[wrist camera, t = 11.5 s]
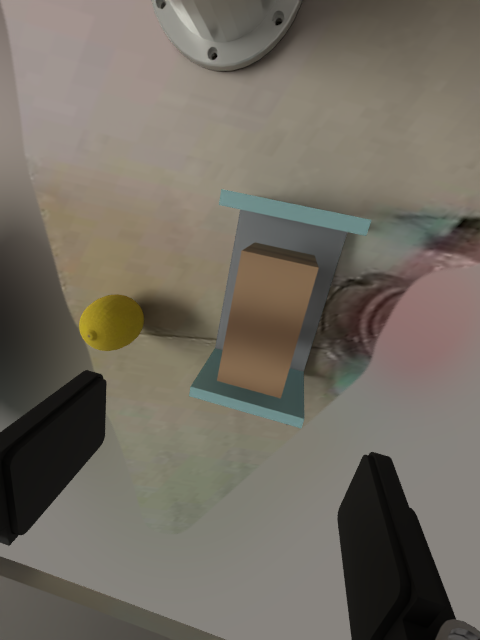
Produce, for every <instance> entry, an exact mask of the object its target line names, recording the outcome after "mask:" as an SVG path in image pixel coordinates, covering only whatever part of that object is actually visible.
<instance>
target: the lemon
mask: <svg viewBox="0 0 480 640" xmlns="http://www.w3.org/2000/svg"><path fill="white" fill-rule="evenodd" d="M143 324H144V315H143V312H142V309H141V308H140V306H139V305H138V304H137V302H135V301H134V300H133V299H131V298H129V297H127V296H123V295H108V296H105V297H102V298H100V299H97V300H96V301H94V302H93V303H92V304H91V305H89V306H88V307H87V308H86V309H85V311H84V312H83V314H82V316H81V318H80V322H79V329H80V333H81V336H82V338H83V339H84V340H85V342H86V343H87V344H88V345H90V346H91V347H93V348H95V349H98V350H102V351H111V350H117V349H120V348H122V347H124V346H126V345H128V344H130V343H131V342H132V341H134V340H135V339H136V338H137V337H138V335H139V334H140V332H141V330H142V328H143Z"/></svg>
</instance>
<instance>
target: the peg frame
mask: <svg viewBox="0 0 480 640" xmlns="http://www.w3.org/2000/svg"><path fill="white" fill-rule="evenodd" d="M219 205H222V206H227V207H232V208H236V209H240V214H239V220H238V225H237V231H236V236H235V242H234V247H233V253H232V258H231V264H230V269H229V275H228V280H227V286H226V291H225V297H224V302H223V308H222V313H221V319H220V324H219V330H218V335H217V341H216V346H215V349H214V351H213V352H212V354H211V355H210V357H209V359H208V360H207V362H206V363H205V365H204V366H203V368H202V370H201V371H200V373H199V374H198V376H197V377H196V379H195V381H194V382H193V384H192V385H191V387H190V394H189V396H191V397H194V398H198V399H201V400H205V401H208V402H212V403H215V404H219V405H222V406H226V407H229V408H233V409H236V410H239V411H243V412H246V413H250V414H253V415H257V416H260V417H264V418H267V419H271V420H274V421H278V422H281V423H285V424H288V425H292V426H295V427H298V428H301V427H302V424H303V421H304V369H305V366H306V362H307V359H308V356H309V353H310V350H311V347H312V343H313V340H314V337H315V334H316V331H317V327H318V324H319V321H320V318H321V315H322V312H323V308H324V305H325V302H326V299H327V296H328V292H329V289H330V286H331V283H332V280H333V277H334V273H335V270H336V267H337V264H338V261H339V258H340V254H341V251H342V248H343V245H344V242H345V238H346V235H347V232H350V233H355V234H359V235H364V236H366V235H367V232H368V229H369V226H370V223H371V220H369V219H364V218H359V217H354V216H350V215H345V214H340V213H335V212H330V211H325V210H320V209H315V208H311V207H306V206H301V205H296V204H291V203H286V202H281V201H276V200H271V199H267V198H262V197H257V196H252V195H247V194H242V193H237V192H232V191H228V190H223V189H221V196H220V202H219ZM255 242H256V243H260V244H265V245H269V246H274V247H278V248H283V249H288V250H292V251H297V252H301V253H306V254H310V255H315V258H316V261H317V264H318V267H319V268H318V272H317V275H316V279H315V282H314V286H313V289H312V293H311V296H310V299H309V303H308V306H307V310H306V313H305V317H304V320H303V324H302V327H301V331H300V334H299V337H298V341H297V344H296V348H295V351H294V355H293V358H292V362H291V365H290V369H289V372H288V375H287V379H286V382H285V386H284V389H283V393H282V396H281V398H277V397H274V396H270V395H266V394H263V393H259V392H256V391H252V390H248V389H245V388H241V387H238V386H234V385H230V384H227V383H223V382H219V381H217V377H218V372H219V367H220V362H221V356H222V351H223V346H224V341H225V335H226V330H227V325H228V320H229V314H230V309H231V304H232V298H233V293H234V288H235V283H236V277H237V272H238V267H239V262H240V256H241V251H242V250H243V249H245V248H247V247H248V246H250V245H251V244H253V243H255Z"/></svg>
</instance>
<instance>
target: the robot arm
mask: <svg viewBox="0 0 480 640" xmlns="http://www.w3.org/2000/svg"><path fill="white" fill-rule="evenodd" d="M151 2H152V5H153V9H154V12H155V15H156V17H157V19H158V21H159V23H160V25H161V27H162V29H163V31H164V32H165V34H166V35H167V37H168V38H169V40H170V41H171V42H172V43H173V45H174V46H175V47H176V48H177V49H178V51H179V52H180V53H181V54H183V55H184V56H185V57H186V58H188V59H189V60H190V61H191V62H193V63H195V64H197V65H199V66H201V67H203V68H207V69H211V70H216V71H232V70H236V69H239V68H243V67H246V66H248V65H250V64H252V63H254V62H256V61H258V60H259V59H261V58H262V57H263V56H265V55H266V54H267V53H268V52H270V51H271V50H272V49H273V48H274V47H275V46H276V44H277V43H278V42H279V41H280V40H281V39H282V38H283V37H284V35H285V33H286V32H287V30H288V29H289V27H290V25H291V24H292V22H293V21H294V19H295V16H296V14H297V12H298V10H299V7H300V5H301V3H302V0H151ZM279 21H280V22H282V23H281V24H280V25H276V23H277V22H279ZM216 55H217V58H216V59H215V60H213V57H214V56H216ZM105 414H106V380H104V379H103V376H102V375H101V374H98V373H95V372H91V371H88V370H86V371H83V372H82V373H81V374H79V375H78V376H76V377H75V378H74V379H72V380H71V381H70V382H68V383H67V384H66V385H64V386H63V387H61V388H60V389H59V390H58V391H56V392H55V393H53V394H52V395H51V396H49V397H48V398H46V399H45V400H44V401H43V402H41V403H40V404H38V405H37V406H36V407H34V408H33V409H32V410H30V411H29V412H27V413H26V414H25V415H23V416H22V417H21V418H19V419H18V420H17V421H15V422H14V423H12V424H11V425H10V426H8V427H7V428H6V429H4V430H3V431H2V432H0V543H3V544H6V545H11V543H12V542H13V541H14V540H15V539H16V538H17V537H18V535H23V534H25V533H26V532H27V531H28V530H29V529H30V528H31V527H32V526H33V524H34V523H35V522H36V521H37V520H38V518H39V517H40V516H41V515H42V514H43V513H44V511H45V510H46V509H47V508H48V507H49V506H50V504H51V503H52V502H53V501H54V500H55V499H56V497H57V496H58V495H59V494H60V493H61V492H62V490H63V489H64V488H65V487H66V486H67V485H68V483H69V482H70V481H71V480H72V479H73V478H74V476H75V475H76V474H77V473H78V472H79V470H80V469H81V468H82V467H83V466H84V465H85V463H86V462H87V461H88V460H89V459H90V458H91V457H92V455H93V454H94V453H95V452H96V451H97V450H98V448H99V447H100V446H101V445H102V443H103V441H104V437H105ZM338 528H339V536H340V545H341V553H342V561H343V569H344V578H345V587H346V595H347V604H348V612H349V620H350V629H351V637H352V640H480V631H478V630H477V629H476V628H475V627H473V626H471V625H469V624H467V623H466V622H464V621H460V620H456V618H455V615H454V612H453V610H452V607H451V605H450V602H449V599H448V597H447V594H446V591H445V589H444V586H443V583H442V581H441V578H440V576H439V573H438V570H437V568H436V565H435V562H434V560H433V557H432V555H431V552H430V549H429V547H428V544H427V541H426V539H425V537H424V534H423V531H422V528H421V526H420V523H419V520H418V518H417V516H416V514H415V512H414V511H413V510H412V508H409V505H408V503H407V500H406V497H405V495H404V492H403V489H402V486H401V484H400V481H399V478H398V475H397V473H396V470H395V467H394V465H393V462H392V459H391V458H390V457H388V456H384V455H381V454H378V453H374V452H371V453H370V454H369V455H364V456H363V457H362V459H361V462H360V464H359V466H358V468H357V470H356V472H355V475H354V477H353V479H352V481H351V483H350V486H349V488H348V490H347V492H346V494H345V497H344V499H343V501H342V503H341V505H340V508H339V511H338ZM0 640H225V639H223V638H220V637H217V636H215V635H212V634H209V633H207V632H204V631H202V630H199V629H196V628H194V627H191V626H188V625H185V624H183V623H180V622H177V621H175V620H172V619H169V618H167V617H164V616H161V615H159V614H156V613H153V612H150V611H148V610H145V609H143V608H140V607H137V606H135V605H132V604H129V603H127V602H124V601H121V600H119V599H116V598H113V597H111V596H108V595H105V594H102V593H100V592H97V591H94V590H92V589H89V588H86V587H83V586H80V585H78V584H75V583H72V582H70V581H67V580H64V579H61V578H59V577H56V576H53V575H51V574H48V573H45V572H42V571H40V570H37V569H34V568H32V567H29V566H26V565H23V564H21V563H17V562H15V561H12V560H9V559H6V558H3V557H0Z"/></svg>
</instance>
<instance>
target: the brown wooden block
mask: <svg viewBox="0 0 480 640" xmlns="http://www.w3.org/2000/svg"><path fill="white" fill-rule="evenodd" d="M318 268H319V267H318V264H317V261H316V258H315V255H310V254H306V253H301V252H297V251H292V250H288V249H283V248H278V247H274V246H269V245H265V244H260V243H256V242H255V243H253V244H251V245H250V246H248V247H247V248H245V249H243V250H242V251H241V256H240V262H239V267H238V272H237V277H236V283H235V288H234V293H233V298H232V304H231V309H230V314H229V320H228V325H227V330H226V335H225V341H224V346H223V351H222V356H221V362H220V367H219V372H218V377H217V381H219V382H223V383H227V384H230V385H234V386H238V387H241V388H245V389H248V390H252V391H256V392H259V393H263V394H266V395H270V396H274V397H277V398H281V396H282V393H283V389H284V386H285V382H286V379H287V375H288V372H289V369H290V365H291V362H292V358H293V355H294V351H295V348H296V344H297V341H298V337H299V334H300V331H301V327H302V324H303V320H304V317H305V313H306V310H307V306H308V303H309V299H310V296H311V293H312V289H313V286H314V282H315V279H316V275H317V272H318Z"/></svg>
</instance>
